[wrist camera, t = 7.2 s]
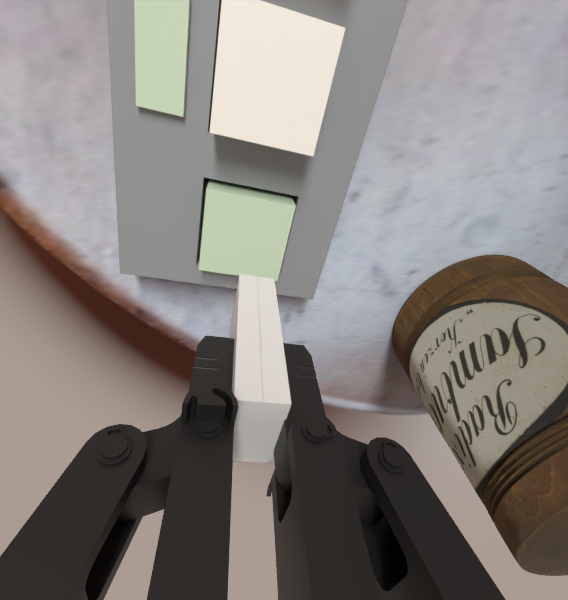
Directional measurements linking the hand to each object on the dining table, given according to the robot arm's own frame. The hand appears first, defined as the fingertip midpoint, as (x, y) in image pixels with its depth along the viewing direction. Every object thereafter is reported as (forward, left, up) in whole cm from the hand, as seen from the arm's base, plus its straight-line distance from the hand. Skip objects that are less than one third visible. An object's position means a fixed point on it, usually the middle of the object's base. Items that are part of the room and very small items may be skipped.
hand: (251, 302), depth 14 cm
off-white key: (-8, 0, -9) cm, 12 cm away
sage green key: (0, 0, -11) cm, 11 cm away
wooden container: (+7, +23, -12) cm, 27 cm away
